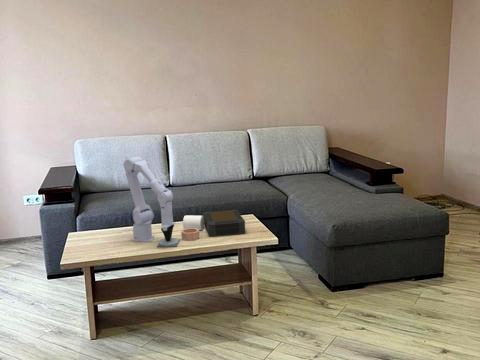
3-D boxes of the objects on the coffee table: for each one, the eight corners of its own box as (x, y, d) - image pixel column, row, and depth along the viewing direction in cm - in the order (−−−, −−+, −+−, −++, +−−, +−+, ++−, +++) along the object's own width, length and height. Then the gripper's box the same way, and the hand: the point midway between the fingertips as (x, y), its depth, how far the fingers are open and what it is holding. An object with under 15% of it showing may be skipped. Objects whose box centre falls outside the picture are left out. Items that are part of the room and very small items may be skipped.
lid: (157, 246, 252) (156, 237, 251) (161, 239, 262) (160, 231, 261) (176, 245, 252) (176, 237, 251) (180, 239, 261) (179, 231, 261)
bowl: (180, 240, 261) (180, 233, 260) (183, 235, 270) (183, 228, 269) (198, 240, 261) (197, 233, 260) (200, 235, 269) (199, 227, 269)
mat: (157, 247, 252) (157, 246, 252) (161, 240, 262) (161, 239, 262) (176, 246, 252) (176, 245, 252) (180, 240, 262) (180, 239, 261)
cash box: (247, 234, 269) (246, 220, 267) (209, 237, 265) (208, 223, 263) (238, 221, 293) (237, 208, 291) (203, 224, 289) (203, 211, 288)
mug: (200, 231, 275) (199, 217, 273) (183, 231, 277) (182, 217, 276) (206, 225, 287) (205, 212, 285) (189, 225, 289) (188, 211, 287)
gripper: (172, 218, 246) (173, 244, 249) (177, 210, 261) (178, 235, 263) (157, 218, 247) (159, 244, 250) (163, 210, 261) (165, 235, 264)
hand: (168, 240), depth 257 cm, fingers closed on lid, 2 cm apart
